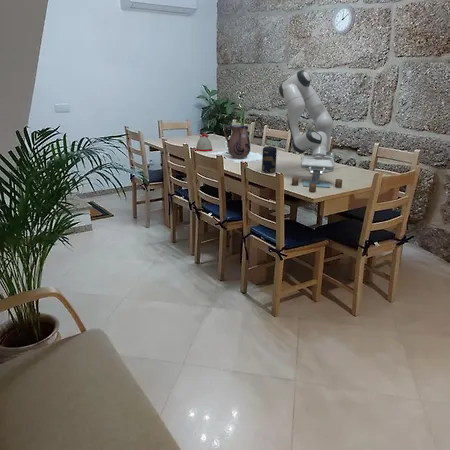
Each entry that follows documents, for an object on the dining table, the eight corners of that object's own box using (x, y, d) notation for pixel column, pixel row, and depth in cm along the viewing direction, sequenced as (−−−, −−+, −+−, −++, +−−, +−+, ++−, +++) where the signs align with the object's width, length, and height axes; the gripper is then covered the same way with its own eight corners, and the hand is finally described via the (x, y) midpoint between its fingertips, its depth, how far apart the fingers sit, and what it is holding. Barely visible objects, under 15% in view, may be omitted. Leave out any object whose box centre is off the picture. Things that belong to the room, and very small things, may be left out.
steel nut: (311, 181, 266) (313, 169, 263) (318, 182, 265) (320, 170, 262) (311, 183, 262) (312, 171, 259) (318, 184, 261) (320, 172, 258)
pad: (303, 181, 270) (303, 180, 270) (328, 182, 268) (328, 181, 268) (303, 186, 259) (303, 185, 259) (330, 187, 257) (330, 186, 257)
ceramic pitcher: (250, 160, 331) (251, 127, 322) (223, 159, 331) (223, 127, 323) (249, 155, 347) (250, 124, 339) (223, 155, 348) (224, 124, 339)
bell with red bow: (209, 151, 361) (209, 134, 356) (194, 151, 364) (193, 133, 359) (213, 149, 374) (213, 131, 369) (198, 148, 377) (198, 131, 372)
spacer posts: (291, 183, 265) (292, 176, 263) (341, 186, 260) (342, 179, 259) (291, 191, 249) (291, 183, 247) (344, 194, 245) (345, 186, 243)
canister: (278, 172, 294) (279, 146, 288) (270, 174, 288) (271, 147, 281) (267, 169, 300) (268, 144, 294) (259, 172, 293) (259, 146, 287)
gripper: (301, 151, 266) (299, 170, 260) (335, 153, 261) (333, 172, 255) (301, 157, 271) (299, 175, 266) (334, 159, 266) (332, 178, 261)
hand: (316, 174), depth 260 cm, fingers closed on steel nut, 4 cm apart
